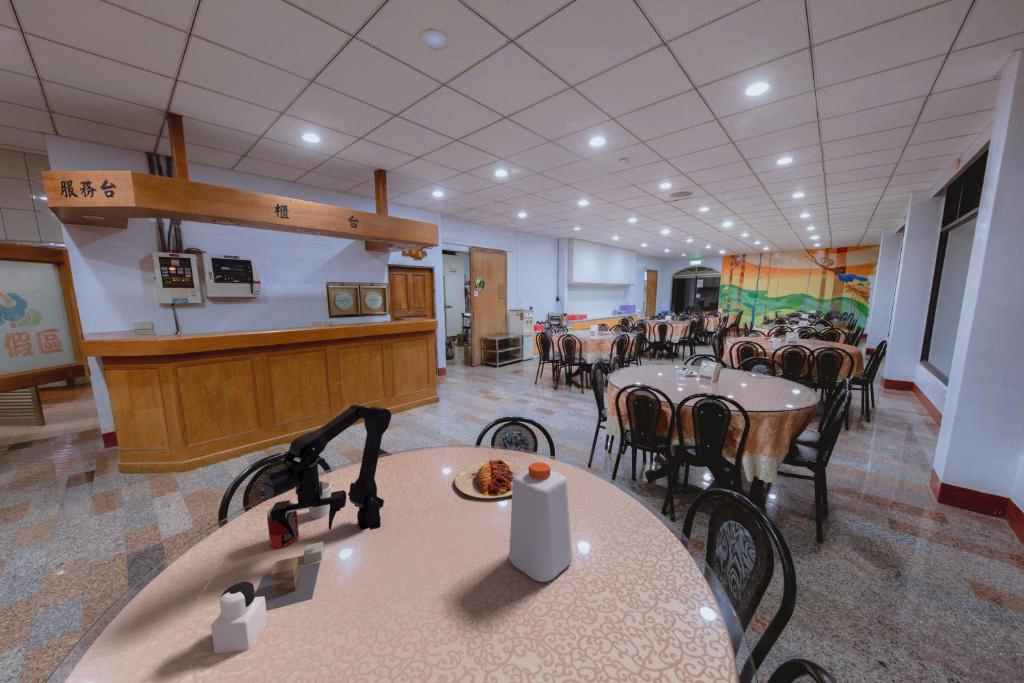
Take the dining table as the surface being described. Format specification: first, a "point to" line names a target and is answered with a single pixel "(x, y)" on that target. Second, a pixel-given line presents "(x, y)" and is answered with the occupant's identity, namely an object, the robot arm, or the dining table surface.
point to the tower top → (284, 570)
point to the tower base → (286, 586)
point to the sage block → (313, 552)
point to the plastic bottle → (540, 523)
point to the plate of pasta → (489, 478)
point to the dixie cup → (321, 510)
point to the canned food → (281, 532)
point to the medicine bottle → (238, 619)
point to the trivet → (301, 594)
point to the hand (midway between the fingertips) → (312, 532)
